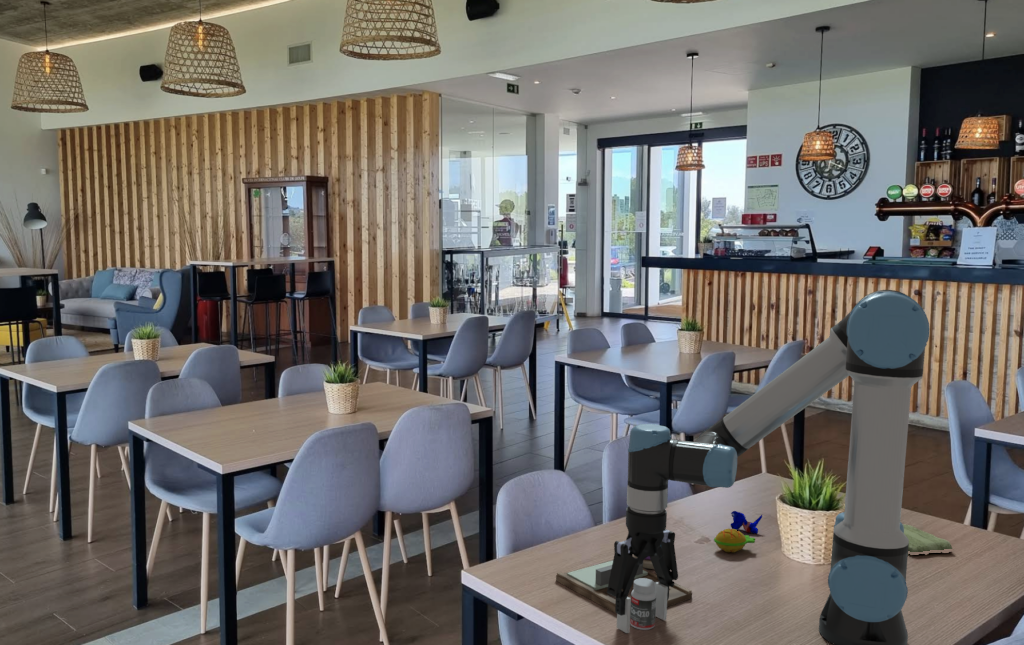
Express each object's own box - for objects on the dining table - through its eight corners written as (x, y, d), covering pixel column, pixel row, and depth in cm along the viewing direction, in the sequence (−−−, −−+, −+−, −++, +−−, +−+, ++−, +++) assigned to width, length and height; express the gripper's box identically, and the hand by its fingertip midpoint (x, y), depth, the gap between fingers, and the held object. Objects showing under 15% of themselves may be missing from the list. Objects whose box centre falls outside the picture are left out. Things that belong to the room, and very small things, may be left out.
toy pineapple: (707, 548, 196) (708, 526, 195) (742, 543, 199) (743, 522, 199) (724, 558, 189) (725, 536, 189) (760, 553, 193) (761, 531, 192)
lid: (647, 574, 175) (648, 558, 175) (594, 590, 166) (595, 573, 166) (618, 561, 182) (619, 545, 182) (566, 575, 174) (567, 559, 173)
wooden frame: (691, 598, 167) (692, 590, 167) (627, 619, 156) (627, 611, 156) (618, 563, 185) (618, 556, 185) (555, 580, 174) (556, 573, 174)
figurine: (731, 526, 212) (732, 508, 212) (761, 531, 209) (762, 513, 208) (727, 531, 208) (728, 513, 207) (758, 537, 204) (759, 518, 204)
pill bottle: (626, 626, 154) (627, 583, 153) (634, 617, 158) (636, 575, 157) (650, 632, 151) (652, 589, 151) (658, 622, 156) (660, 580, 155)
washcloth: (904, 530, 212) (905, 518, 212) (956, 555, 195) (957, 542, 195) (860, 533, 209) (861, 521, 209) (909, 559, 192) (910, 546, 192)
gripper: (672, 493, 162) (667, 602, 164) (589, 511, 149) (585, 630, 151) (701, 503, 156) (695, 617, 158) (617, 523, 143) (612, 646, 145)
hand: (641, 623), depth 155 cm, fingers open, 9 cm apart
